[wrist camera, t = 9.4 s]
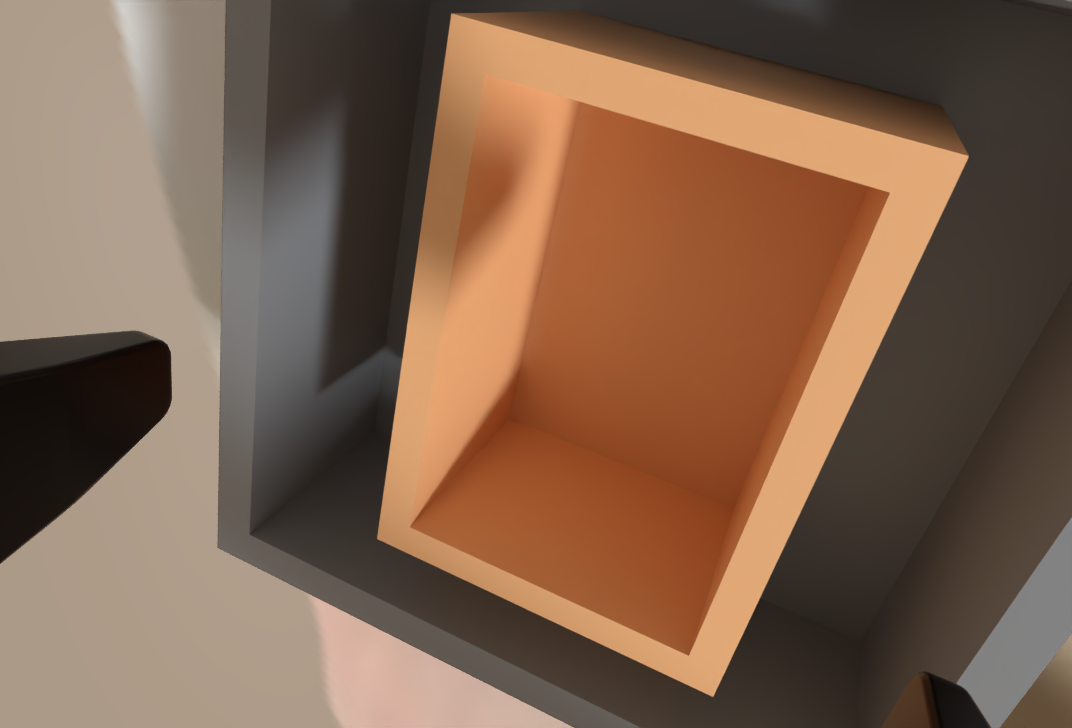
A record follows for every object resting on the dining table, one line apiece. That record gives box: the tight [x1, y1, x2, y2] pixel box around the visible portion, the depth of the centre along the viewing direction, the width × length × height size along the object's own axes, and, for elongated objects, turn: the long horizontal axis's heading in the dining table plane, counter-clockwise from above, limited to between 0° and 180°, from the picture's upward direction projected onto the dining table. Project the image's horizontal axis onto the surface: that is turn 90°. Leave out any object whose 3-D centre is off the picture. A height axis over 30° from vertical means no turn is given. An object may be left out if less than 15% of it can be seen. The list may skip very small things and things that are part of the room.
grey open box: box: [218, 0, 1072, 728], centre depth 14 cm, size 14×14×6 cm
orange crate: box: [377, 11, 969, 697], centre depth 14 cm, size 6×9×5 cm
